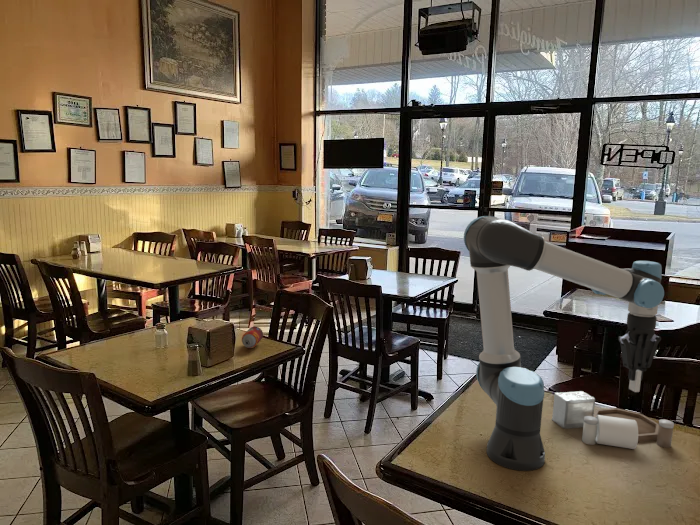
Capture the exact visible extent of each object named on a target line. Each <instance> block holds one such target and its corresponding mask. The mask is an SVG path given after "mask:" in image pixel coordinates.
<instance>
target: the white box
mask: <svg viewBox="0 0 700 525" xmlns="http://www.w3.org/2000/svg"><path fill="white" fill-rule="evenodd" d="M553 398H554V399H553V406H552V418H551V420H552V421H553V422H554V423H555V424H557V425H558V426H559V427H560V428H562V429H574V428H576V429H577V428H583V425H584V417H585V416H592V417H593V416H594V412H595V406H596V398H595V397H594V396H592V395H590V394H589V393H587V392H584V391H583V390H579V391H567V392H566V391H565V392H564V391H563V392H554V397H553Z"/></svg>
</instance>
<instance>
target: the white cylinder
mask: <svg viewBox="0 0 700 525" xmlns="http://www.w3.org/2000/svg"><path fill="white" fill-rule="evenodd" d="M596 418H597V419H598V424H597V434H596V443H595V444H597V445H598V444H599V445H606V446H613V447H619V448H624V449H630V450H631V449H632V450H636V449H637V446H638V425H637V422H636V421H635V420H632V419H624V418H617V417H610V416H603V415H597V416H596Z"/></svg>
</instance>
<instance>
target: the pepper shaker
mask: <svg viewBox="0 0 700 525" xmlns="http://www.w3.org/2000/svg"><path fill="white" fill-rule="evenodd" d="M674 423H675V422H673V421H671V420H668V419H664V418H663V419H659V420H658V424H659V427H658V435H657V440H656V445H657V446H659V447H660V448H661V447H662V448H665V449H670V448H671V447H672V442H673V432H674V426H675V424H674Z"/></svg>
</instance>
